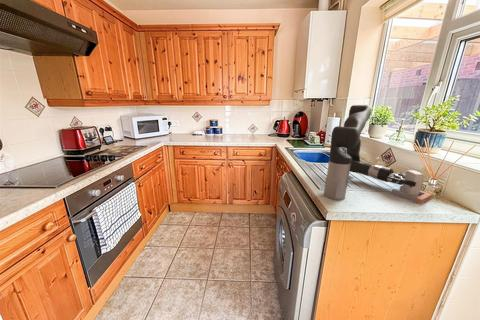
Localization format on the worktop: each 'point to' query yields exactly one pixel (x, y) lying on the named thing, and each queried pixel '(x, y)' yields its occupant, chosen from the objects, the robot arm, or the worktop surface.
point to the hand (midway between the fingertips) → (418, 183)
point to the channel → (422, 196)
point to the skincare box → (413, 177)
